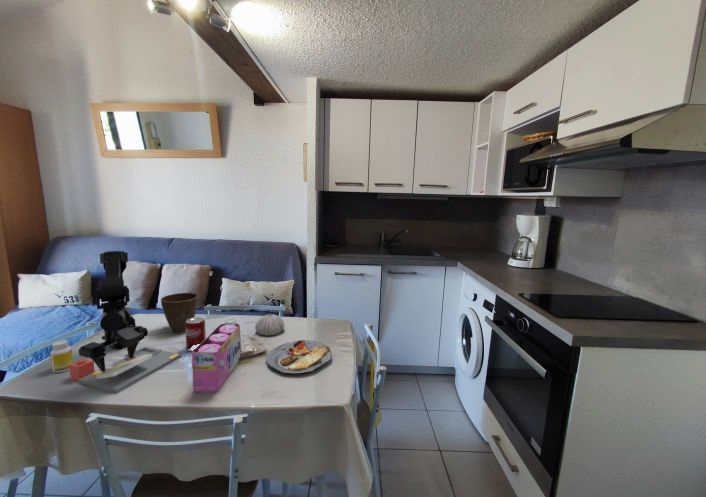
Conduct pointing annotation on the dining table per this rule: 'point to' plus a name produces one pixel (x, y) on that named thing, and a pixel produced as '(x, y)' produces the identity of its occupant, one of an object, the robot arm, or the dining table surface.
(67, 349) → the supplement bottle
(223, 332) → the gum box
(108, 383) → the panel
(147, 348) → the socket
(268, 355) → the food plate
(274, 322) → the sea urchin shell
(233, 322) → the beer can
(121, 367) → the yellow-striped white slab
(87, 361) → the red block
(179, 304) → the plant pot
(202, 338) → the soda can
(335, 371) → the dining table surface
